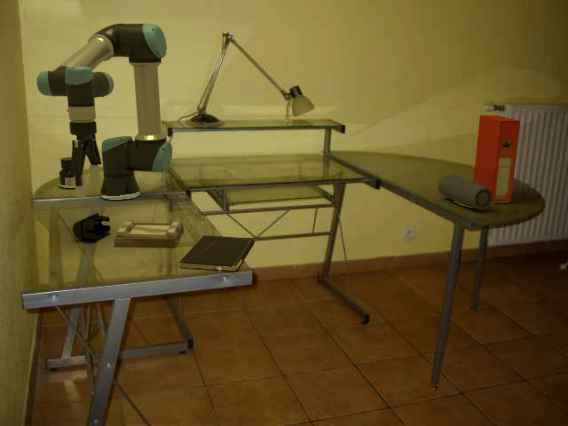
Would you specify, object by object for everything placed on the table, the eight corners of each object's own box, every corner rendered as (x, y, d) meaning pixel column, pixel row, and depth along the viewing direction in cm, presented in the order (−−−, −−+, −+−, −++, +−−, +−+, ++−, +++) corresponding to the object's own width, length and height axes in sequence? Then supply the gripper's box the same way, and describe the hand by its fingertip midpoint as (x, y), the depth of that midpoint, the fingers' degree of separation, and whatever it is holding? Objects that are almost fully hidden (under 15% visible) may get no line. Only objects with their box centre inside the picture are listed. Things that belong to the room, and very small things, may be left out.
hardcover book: (179, 269, 158) (179, 261, 158) (203, 242, 180) (203, 235, 180) (236, 274, 156) (236, 265, 155) (254, 245, 178) (254, 238, 177)
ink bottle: (69, 190, 236) (66, 161, 233) (55, 187, 241) (52, 159, 238) (88, 186, 244) (85, 157, 241) (74, 183, 249) (71, 155, 245)
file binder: (490, 204, 224) (500, 120, 215) (471, 193, 241) (479, 115, 232) (510, 203, 225) (521, 120, 216) (490, 192, 242) (499, 115, 233)
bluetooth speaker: (492, 211, 214) (495, 185, 211) (471, 214, 211) (474, 187, 208) (455, 196, 235) (457, 172, 232) (435, 198, 232) (437, 174, 229)
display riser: (128, 229, 189) (127, 218, 188) (183, 230, 189) (183, 218, 188) (114, 246, 174) (113, 233, 173) (174, 247, 174) (174, 234, 173)
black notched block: (92, 232, 187) (90, 211, 185) (111, 234, 185) (110, 213, 183) (73, 241, 178) (71, 220, 176) (93, 244, 176) (91, 222, 174)
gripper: (84, 115, 183) (89, 181, 189) (53, 126, 159) (60, 201, 165) (107, 115, 183) (112, 181, 189) (81, 126, 159) (87, 201, 165)
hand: (88, 190), depth 177 cm, fingers open, 13 cm apart
